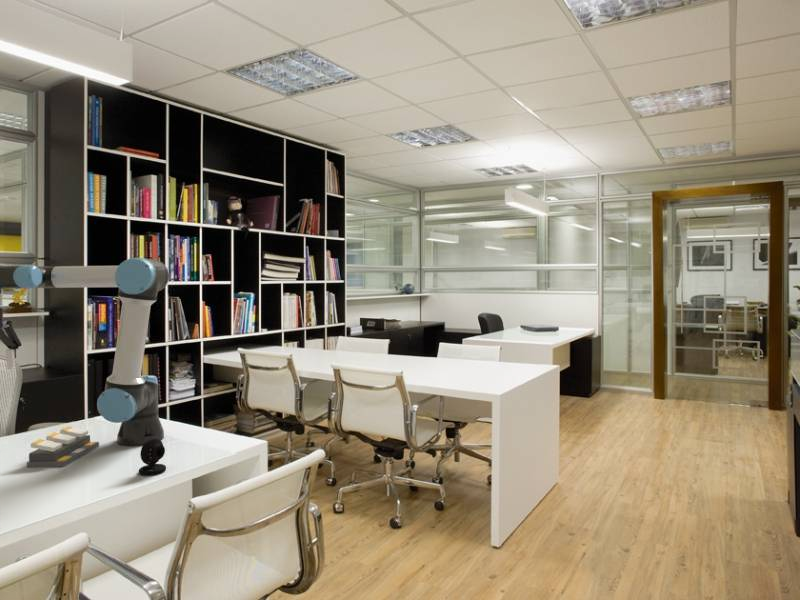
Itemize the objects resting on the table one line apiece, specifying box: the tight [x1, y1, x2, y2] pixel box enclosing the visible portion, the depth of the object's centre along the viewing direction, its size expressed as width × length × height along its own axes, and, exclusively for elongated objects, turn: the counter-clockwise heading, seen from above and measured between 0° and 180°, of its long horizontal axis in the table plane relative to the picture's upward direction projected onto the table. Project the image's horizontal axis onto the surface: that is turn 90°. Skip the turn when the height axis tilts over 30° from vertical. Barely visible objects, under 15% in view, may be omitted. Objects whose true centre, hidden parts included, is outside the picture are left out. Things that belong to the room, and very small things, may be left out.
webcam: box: [138, 438, 167, 477], centre depth 165 cm, size 8×8×10 cm
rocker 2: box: [45, 431, 76, 444], centre depth 180 cm, size 7×4×1 cm, turn 92°
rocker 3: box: [59, 425, 89, 437], centre depth 187 cm, size 7×4×1 cm, turn 92°
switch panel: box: [26, 434, 100, 468], centre depth 180 cm, size 11×21×4 cm, turn 2°
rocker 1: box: [30, 438, 62, 452], centre depth 172 cm, size 7×4×1 cm, turn 92°
